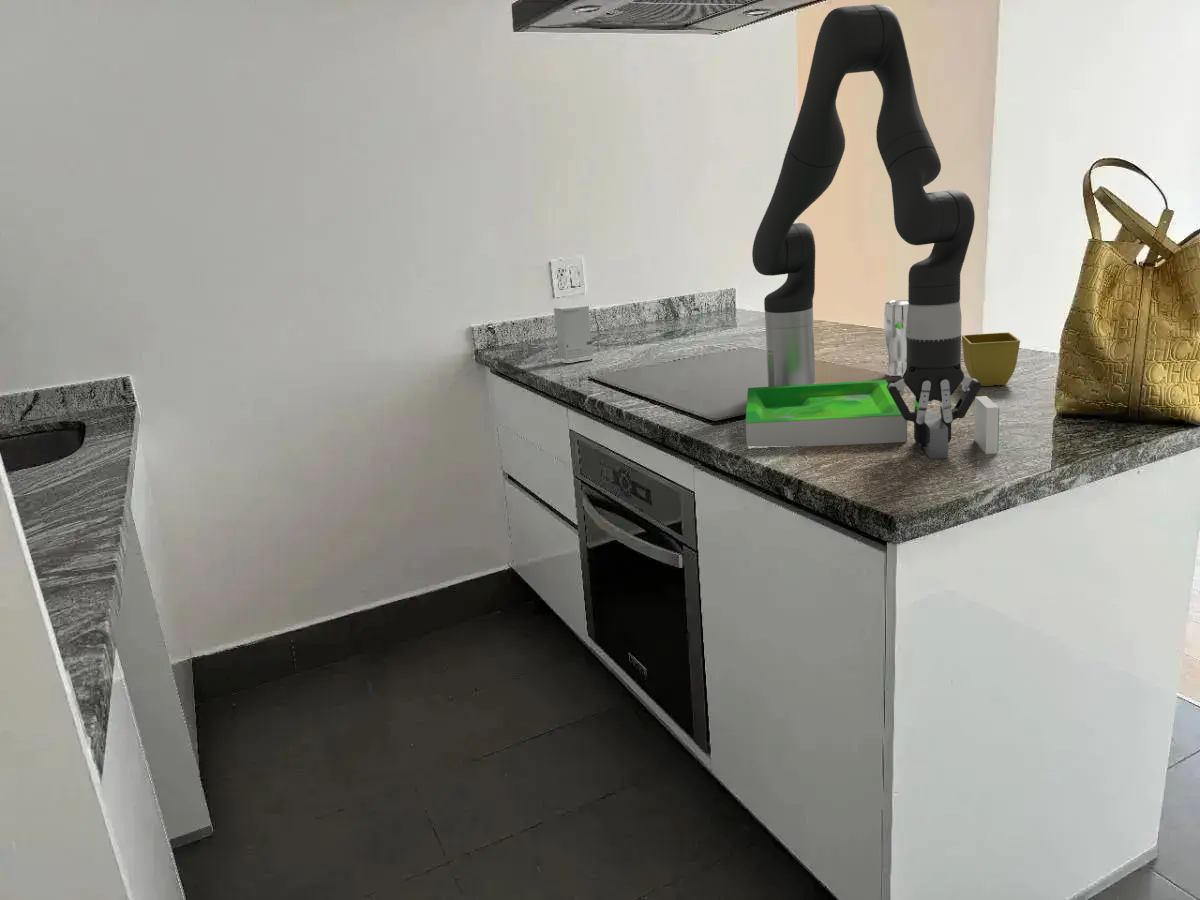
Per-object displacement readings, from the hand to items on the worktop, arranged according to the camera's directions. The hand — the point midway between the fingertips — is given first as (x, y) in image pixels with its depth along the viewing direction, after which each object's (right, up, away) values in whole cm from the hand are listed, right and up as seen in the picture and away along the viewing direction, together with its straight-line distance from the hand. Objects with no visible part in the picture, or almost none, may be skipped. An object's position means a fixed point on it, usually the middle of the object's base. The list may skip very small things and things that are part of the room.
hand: (932, 444), depth 132 cm
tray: (-12, +3, +19) cm, 23 cm away
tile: (+8, 0, -1) cm, 8 cm away
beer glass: (+13, +15, +49) cm, 53 cm away
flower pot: (+24, +12, +34) cm, 44 cm away
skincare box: (-57, +23, +103) cm, 120 cm away
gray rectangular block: (0, -1, 0) cm, 1 cm away
